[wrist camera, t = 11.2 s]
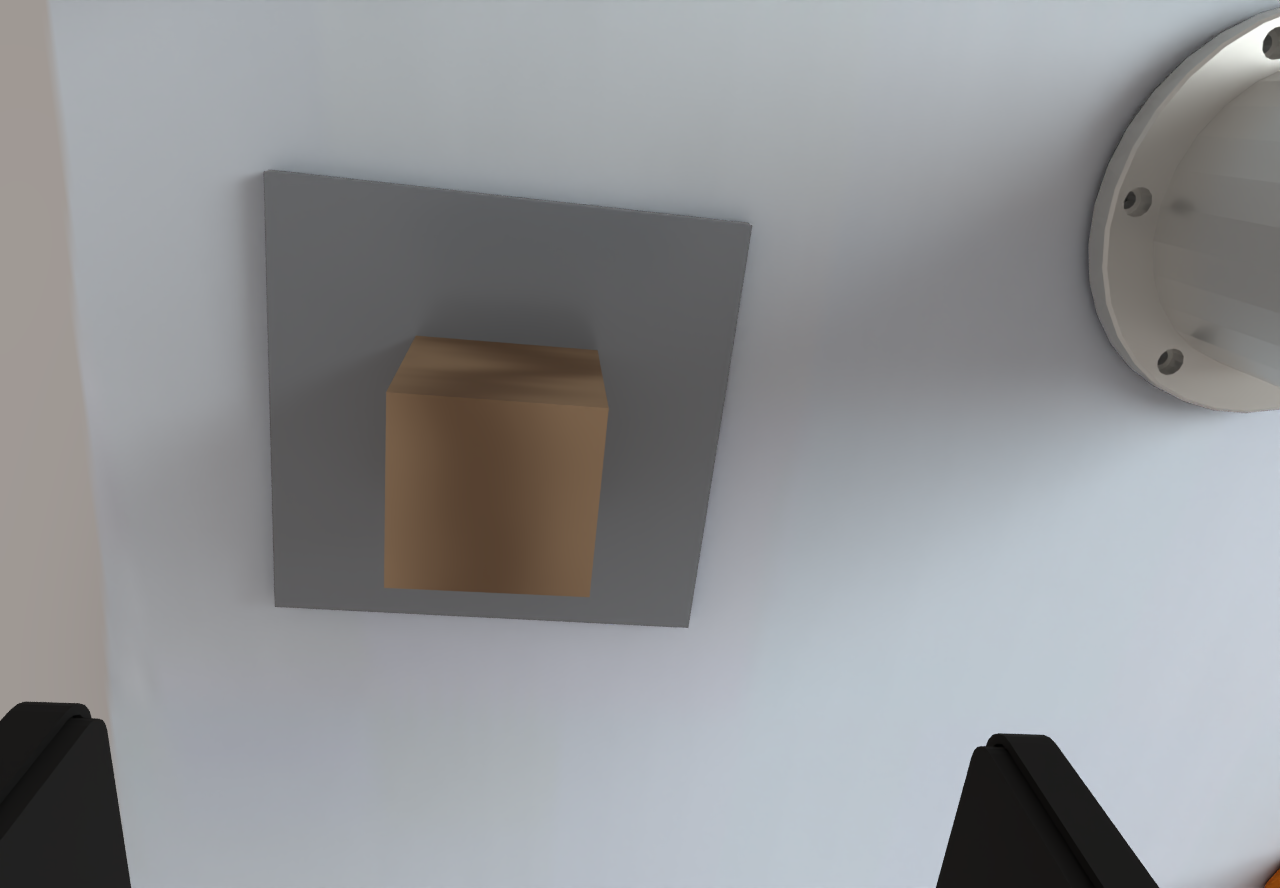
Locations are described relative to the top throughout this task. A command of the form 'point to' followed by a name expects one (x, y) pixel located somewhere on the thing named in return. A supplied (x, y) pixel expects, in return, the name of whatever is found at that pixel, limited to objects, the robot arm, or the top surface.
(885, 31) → the top surface
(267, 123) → the top surface
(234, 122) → the top surface
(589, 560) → the walnut block
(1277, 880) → the spray bottle
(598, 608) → the slate coaster
